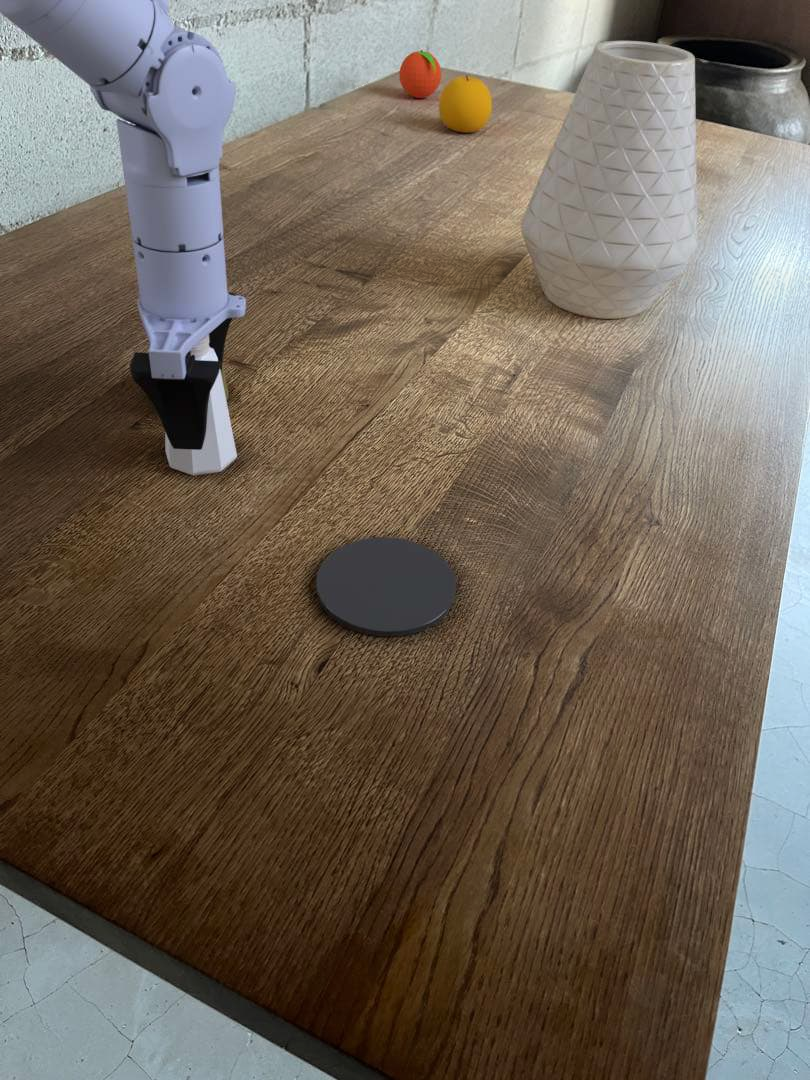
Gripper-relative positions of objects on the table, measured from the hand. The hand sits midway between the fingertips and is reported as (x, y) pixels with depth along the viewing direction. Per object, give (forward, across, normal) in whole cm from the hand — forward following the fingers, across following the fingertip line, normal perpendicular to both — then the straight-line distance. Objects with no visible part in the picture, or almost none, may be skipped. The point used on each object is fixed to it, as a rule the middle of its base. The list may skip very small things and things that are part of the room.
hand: (196, 417), depth 67 cm
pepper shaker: (+4, 0, 0) cm, 4 cm away
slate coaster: (+3, -14, -14) cm, 20 cm away
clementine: (+4, +107, -20) cm, 109 cm away
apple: (+4, +90, -26) cm, 94 cm away
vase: (+4, +32, -36) cm, 48 cm away
